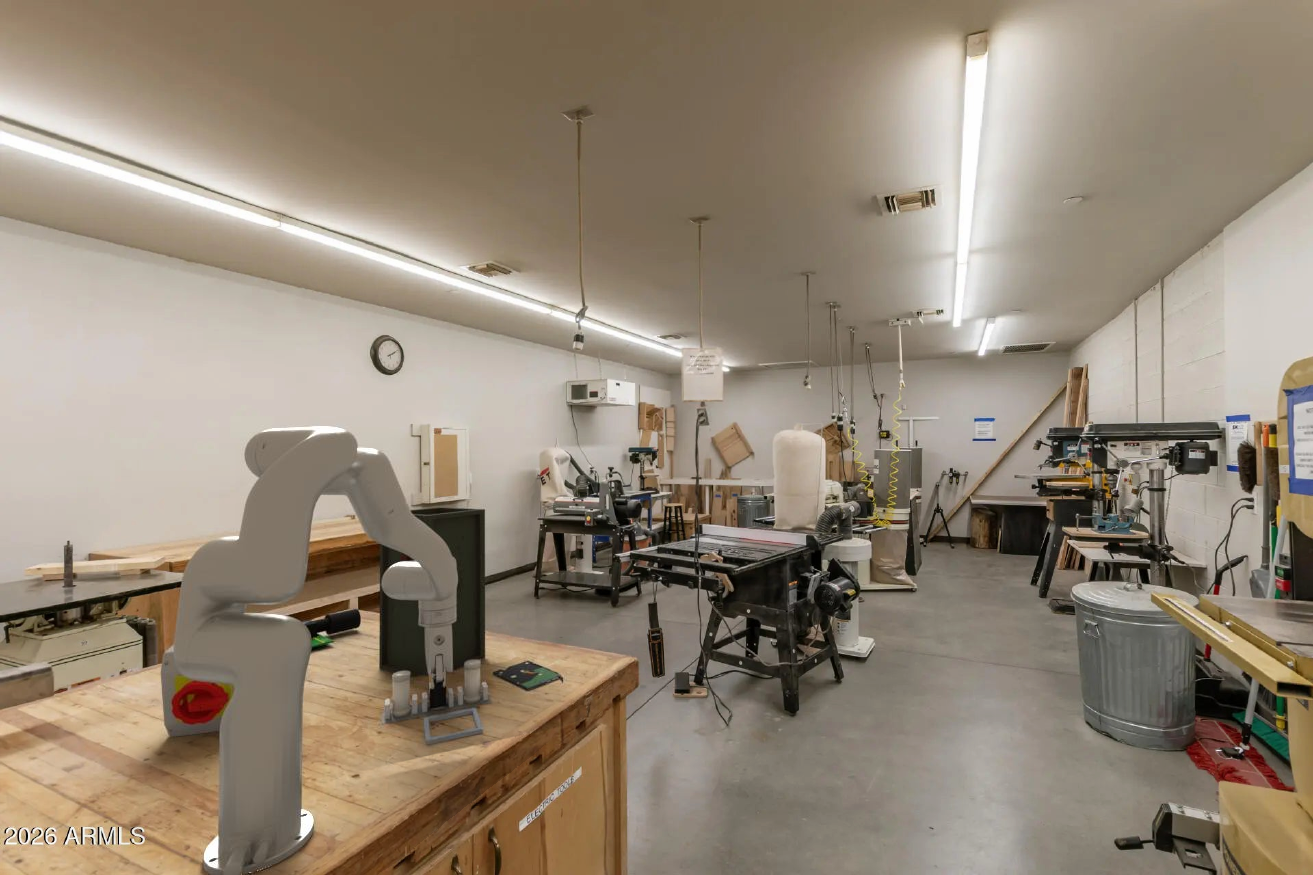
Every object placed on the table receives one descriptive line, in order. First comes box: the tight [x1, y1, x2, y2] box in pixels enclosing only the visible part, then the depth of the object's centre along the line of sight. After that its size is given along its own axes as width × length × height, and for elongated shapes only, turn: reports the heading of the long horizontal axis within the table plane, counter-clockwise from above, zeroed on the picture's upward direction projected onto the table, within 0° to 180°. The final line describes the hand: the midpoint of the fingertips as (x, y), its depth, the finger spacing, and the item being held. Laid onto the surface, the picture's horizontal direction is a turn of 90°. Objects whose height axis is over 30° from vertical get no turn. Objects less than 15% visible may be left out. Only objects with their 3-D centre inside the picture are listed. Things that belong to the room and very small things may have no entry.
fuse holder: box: [381, 681, 492, 725], centre depth 117 cm, size 7×21×4 cm, turn 115°
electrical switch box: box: [160, 644, 234, 738], centre depth 111 cm, size 15×15×20 cm
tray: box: [423, 707, 484, 746], centre depth 108 cm, size 10×10×2 cm
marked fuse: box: [428, 668, 447, 710], centre depth 117 cm, size 3×3×8 cm
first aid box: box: [378, 506, 486, 679], centre depth 147 cm, size 18×18×40 cm
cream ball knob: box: [463, 660, 482, 703], centre depth 120 cm, size 3×3×8 cm
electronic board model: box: [300, 608, 362, 649], centre depth 163 cm, size 30×7×15 cm
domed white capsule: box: [391, 671, 411, 717], centre depth 114 cm, size 3×3×8 cm
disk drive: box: [492, 660, 564, 692], centre depth 133 cm, size 10×3×15 cm
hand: (437, 702), depth 117 cm, fingers closed on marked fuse, 3 cm apart
